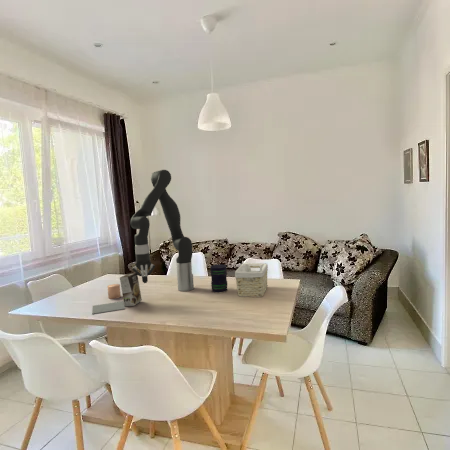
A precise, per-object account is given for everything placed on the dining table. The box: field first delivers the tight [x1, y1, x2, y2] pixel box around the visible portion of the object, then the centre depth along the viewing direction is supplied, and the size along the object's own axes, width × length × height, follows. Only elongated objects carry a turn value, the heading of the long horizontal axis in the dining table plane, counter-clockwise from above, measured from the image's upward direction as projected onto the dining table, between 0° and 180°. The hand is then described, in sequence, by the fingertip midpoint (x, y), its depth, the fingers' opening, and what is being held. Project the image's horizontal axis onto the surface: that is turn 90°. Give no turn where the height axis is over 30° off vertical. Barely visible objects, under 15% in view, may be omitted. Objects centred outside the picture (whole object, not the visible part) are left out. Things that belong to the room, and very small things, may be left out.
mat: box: [91, 300, 126, 315], centre depth 175 cm, size 16×14×1 cm
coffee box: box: [119, 272, 142, 307], centre depth 179 cm, size 9×6×16 cm
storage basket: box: [234, 262, 269, 298], centre depth 193 cm, size 24×16×15 cm
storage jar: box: [210, 264, 228, 293], centre depth 199 cm, size 10×10×15 cm
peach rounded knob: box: [107, 283, 122, 300], centre depth 195 cm, size 7×7×7 cm
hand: (145, 282), depth 183 cm, fingers closed
